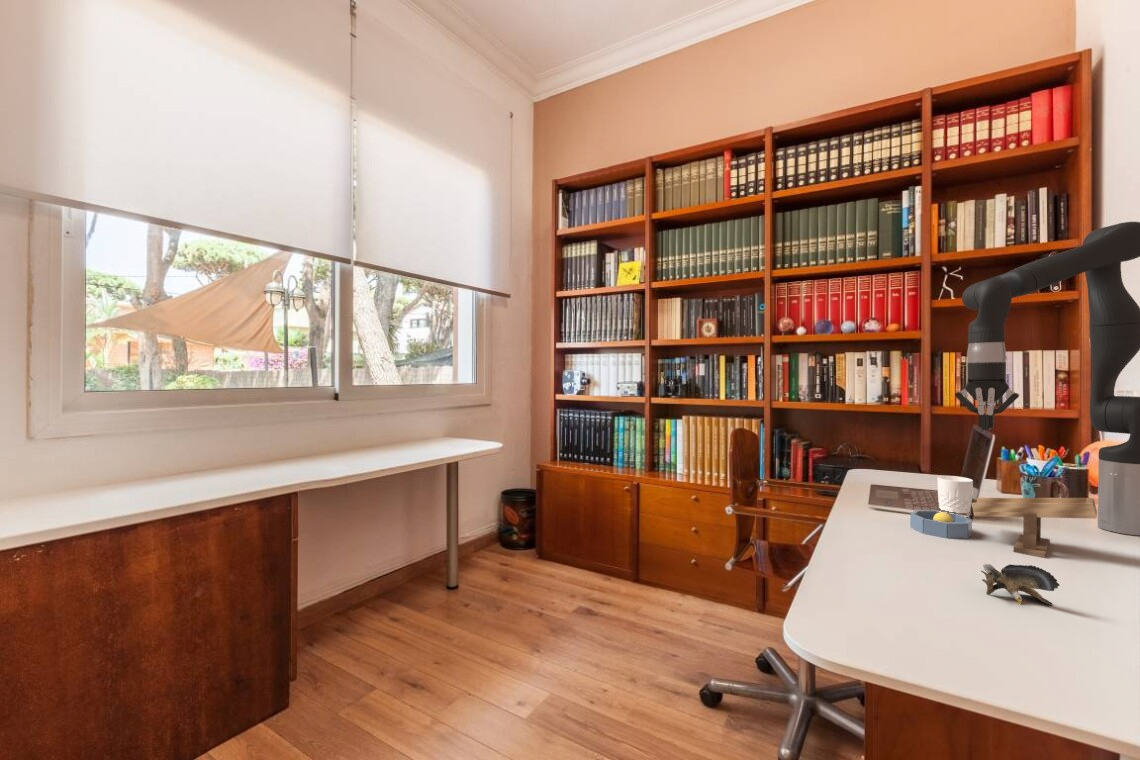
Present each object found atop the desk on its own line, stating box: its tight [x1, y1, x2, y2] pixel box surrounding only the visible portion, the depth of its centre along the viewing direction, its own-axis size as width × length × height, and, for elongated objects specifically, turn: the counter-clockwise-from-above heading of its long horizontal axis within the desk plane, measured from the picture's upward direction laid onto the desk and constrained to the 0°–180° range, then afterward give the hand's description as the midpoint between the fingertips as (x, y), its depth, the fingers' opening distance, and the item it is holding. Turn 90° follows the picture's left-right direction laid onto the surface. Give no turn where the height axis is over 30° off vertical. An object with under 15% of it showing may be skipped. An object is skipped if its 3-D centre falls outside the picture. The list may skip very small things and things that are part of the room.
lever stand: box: [1012, 512, 1051, 559], centre depth 113 cm, size 5×13×9 cm, turn 133°
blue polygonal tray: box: [910, 509, 973, 539], centre depth 126 cm, size 12×12×4 cm
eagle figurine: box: [980, 563, 1061, 606], centre depth 87 cm, size 8×7×9 cm
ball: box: [933, 512, 953, 522], centre depth 125 cm, size 4×4×4 cm
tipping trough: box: [971, 497, 1098, 520], centre depth 116 cm, size 20×13×3 cm, turn 43°
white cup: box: [936, 475, 974, 513], centre depth 140 cm, size 8×8×10 cm
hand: (986, 429), depth 128 cm, fingers closed
